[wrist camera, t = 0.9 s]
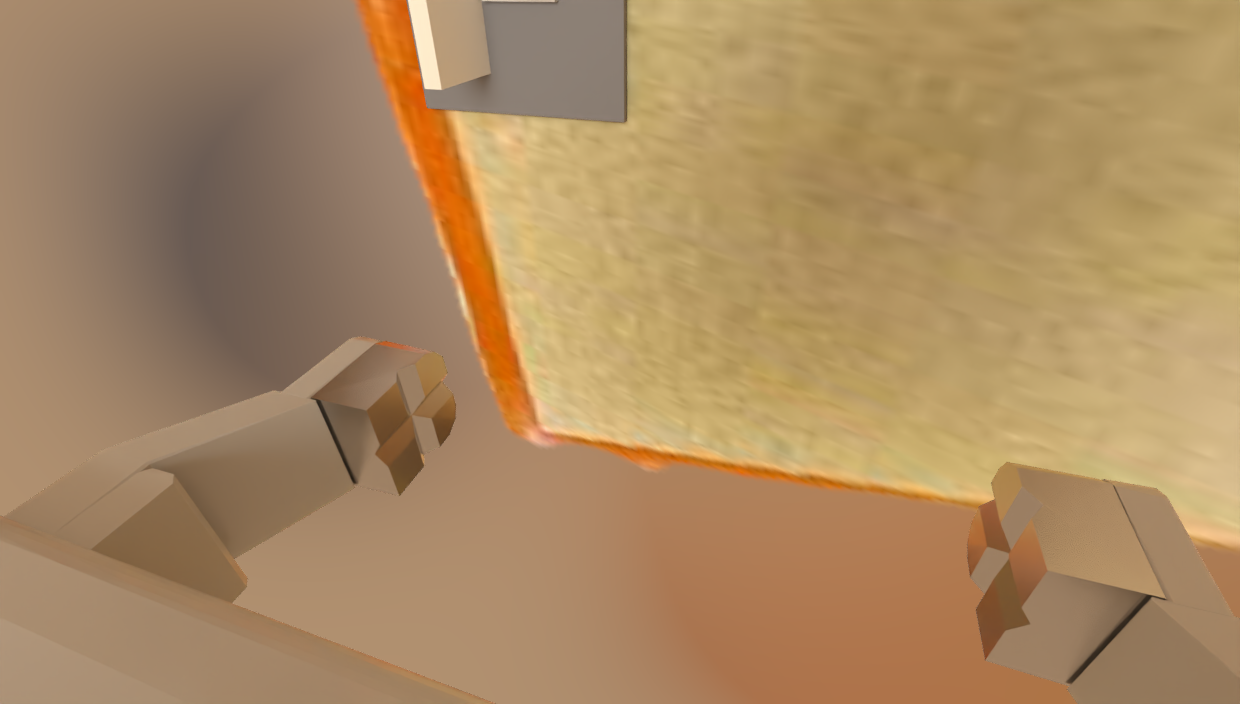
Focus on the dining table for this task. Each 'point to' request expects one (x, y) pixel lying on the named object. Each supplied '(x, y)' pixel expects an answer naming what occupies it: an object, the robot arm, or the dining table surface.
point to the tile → (450, 41)
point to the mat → (548, 62)
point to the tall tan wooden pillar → (524, 0)
